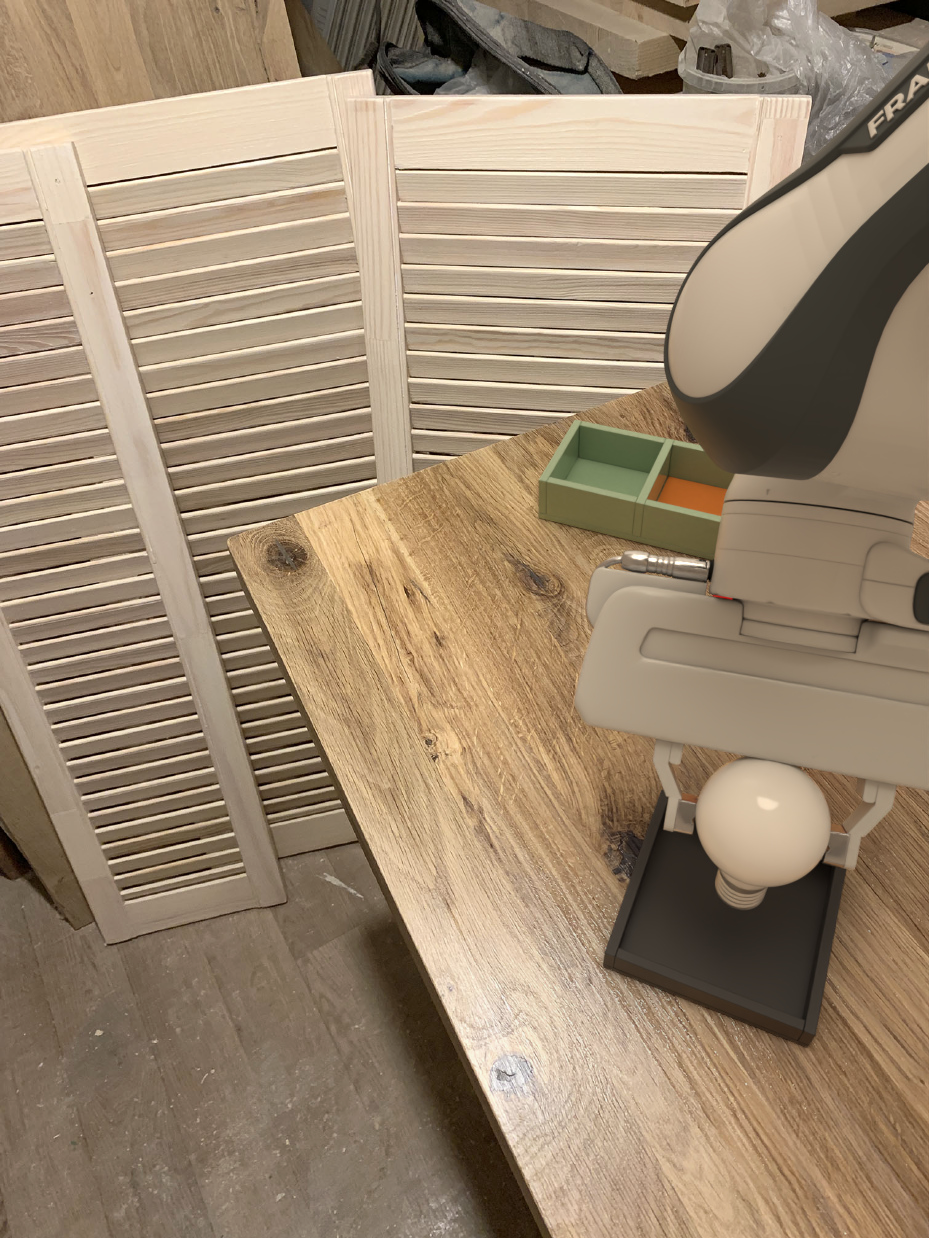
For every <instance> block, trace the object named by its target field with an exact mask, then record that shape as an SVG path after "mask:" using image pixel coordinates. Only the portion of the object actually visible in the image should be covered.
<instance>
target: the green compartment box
mask: <svg viewBox="0 0 929 1238" xmlns="http://www.w3.org/2000/svg"><path fill="white" fill-rule="evenodd" d="M734 475H735V474H734V473H729V472H726V471H724V470H722V469H721V468H719V467H718V466H717V465H715V463H714V462H713V461H712V460H711V459H710V458H709V456H708V455H707V454H706V453H705V451H704V450H703V449H702V447H701V446H700V445H699V444H696V443H691V442H687V441H682V440H676V439H673V438H668V437H662V436H657V435H652V434H647V433H642V432H637V431H634V430H633V431H632V430H628V429H625V428H624V429H623V428H618V427H613V426H610V425H603V424H599V423H594V422H590V421H584V420H581V419H574V420H573V422H572V423H571V425H570V427H569V428H568V430H567V431H566V433H565V435H564V436H563V438H562V440H561V442H560V443H559V445H558V447H557V448H556V450H555V452H554V453H553V455H552V457H551V458H550V460H549V462H548V464H547V465H546V467H545V468H544V470H543V472H542V474H541V475H540V477H539V479H538V519H542V520H546V521H550V522H554V523H557V524H562V525H566V526H571V527H575V528H579V529H583V530H587V531H589V532H590V531H591V532H595V533H600V534H602V535H608V536H611V537H615V538H618V539H624V540H626V541H627V540H628V541H631V542H636V543H639V544H643V545H648V546H652V547H656V548H661V549H664V550H669V551H672V552H677V553H681V554H685V555H689V556H693V557H697V558H700V559H704V560H709V561H712V560H713V559H714V556H715V550H716V543H717V537H718V532H719V526H720V520H721V514H722V508H723V504H724V498H725V494H726V492H727V489H728V487H729V485H730V483H731V481H732V479H733V477H734Z"/></svg>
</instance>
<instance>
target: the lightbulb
mask: <svg viewBox="0 0 929 1238" xmlns="http://www.w3.org/2000/svg"><path fill="white" fill-rule="evenodd" d="M695 820H696V829H697V833H698V837H699V840H700V842H701V844H702V847H703V848H704V850H705V852H706V854H707V855H708V857H709V858H710V859H711V860H712V862H713V863H714V864H715V865H716V866H717V867H718V868H719V869H718V872H717V876H716V879H715V888H716V892H717V894H718V896H719V897H720V898H721V900H722V901H723V902H724V903H726V904H727V905H728V906H730V907H732V908H735V909H739V910H749V909H753V908H755V907H757V906H758V905H759V904H760V903H761V902H762V900H763V899H764V896H765V894H766V891H767V888H768V887H777V886H782V885H786V884H789V883H792V882H795V881H797V880H799V879H800V878H802V877H804V876H805V875H807V874H808V873H809V872H810V871H811V870H812V869H813V868H814V867H815V866H816V865H817V864H818V863H819V861H820V860H821V858H822V857H823V855H824V853H825V851H826V849H827V846H828V843H829V839H830V834H831V823H832V817H831V810H830V807H829V804H828V800H827V798H826V796H825V794H824V793H823V791H822V789H821V787H820V786H819V784H818V783H817V782H816V781H815V779H813V777H811V775H810V774H808V773H807V772H806V771H805V770H804V769H802V767H800V766H795V765H790V764H784V763H779V762H774V761H769V760H764V759H758V758H753V757H748V756H740V757H736V758H734V759H732V760H730V761H728V762H725V763H724V764H723V765H721V766H719V768H717V769H716V770H715V771H714V772H713V773H712V774H711V775H710V776H709V777H708V779H707V780H706V781H705V783H704V784H703V786H702V788H701V790H700V793H699V795H698V801H697V806H696V816H695Z"/></svg>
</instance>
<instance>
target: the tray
mask: <svg viewBox="0 0 929 1238" xmlns="http://www.w3.org/2000/svg"><path fill="white" fill-rule="evenodd" d="M667 803H668V797H667V796H666V794H665V792H664V789H661V790H660V791H659V795H658V798H657V800H656V804H655V806H654V809H653V812H652V815H651V817H650V821H649V824H648V826H647V830H646V832H645V835H644V838H643V841H642V844H641V847H640V849H639V852H638V855H637V858H636V860H635V863H634V867H633V869H632V873H631V875H630V877H629V881H628V885H627V887H626V890H625V893H624V896H623V898H622V902H621V904H620V907H619V909H618V913H617V915H616V918H615V921H614V924H613V928H612V930H611V932H610V936H609V938H608V942H607V943H606V944H607V945H606V947H605V950H604V956H603V963H602V967H603V968H605V969H608V970H610V971H613V972H616V973H618V974H621V975H623V976H625V977H628V978H631V979H633V980H635V981H638V982H640V983H643V984H646V985H649V986H651V987H652V988H656V989H659V990H661V991H662V992H663V991H664V992H666V993H668V994H670V995H673V996H676V997H679V998H681V999H683V1000H686V1001H689V1002H691V1003H694V1004H696V1005H699V1006H701V1007H704V1008H706V1009H708V1010H711V1011H713V1012H716V1013H719V1014H721V1015H724V1016H726V1017H728V1018H731V1019H734V1020H737V1021H739V1022H741V1023H744V1024H746V1025H750V1026H751V1027H754V1028H757V1029H759V1030H762V1031H764V1032H766V1033H769V1034H771V1035H774V1036H776V1037H778V1038H781V1039H784V1040H787V1041H788V1042H791V1043H794V1044H797V1045H799V1046H802V1047H804V1048H809V1046H810V1045H811V1043H812V1042H813V1040H814V1039H815V1038H816V1036H817V1030H818V1024H819V1020H820V1014H821V1009H822V1004H823V997H824V994H825V993H824V992H825V989H826V988H825V987H826V982H827V976H828V972H829V971H828V970H829V966H830V961H831V960H830V959H831V955H832V949H833V944H834V938H835V932H836V928H837V922H838V916H839V911H840V905H841V900H842V895H843V890H844V886H845V885H844V884H845V880H846V879H845V878H846V873H847V869H844V868H839V867H835V866H830V865H826V864H822V860H820V861H819V863H818V864H817V865H816V866H815V867H814V868H813V869H812V870H811V871H810V872H809V873H808V874H807V875H805V876H804V877H802V878H800V879H799V880H797V881H795V882H792V883H789V884H786V885H782V886H777V887H768V888H767V891H766V894H765V896H764V899H763V900H762V902H761V903H760V904H759V905H758V906H757V907H755V908H753V909H749V910H739V909H735V908H732V907H730V906H728V905H727V904H726V903H724V902H723V901H722V900H721V898H720V897H719V896H718V894H717V892H716V888H715V879H716V876H717V872H718V869H719V868H718V867H717V866H716V865H715V864H714V863H713V862H712V860H711V859H710V858H709V857H708V855H707V854H706V852H705V850H704V848H703V847H702V844H701V842H700V840H699V837H698V833H697V829H696V820H695V817H694V829H693V834H692V835H687V834H682V833H677V832H671V831H667V830H663V829H664V822H665V815H666V809H667Z"/></svg>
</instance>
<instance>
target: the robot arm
mask: <svg viewBox="0 0 929 1238" xmlns="http://www.w3.org/2000/svg"><path fill="white" fill-rule="evenodd" d="M663 368H664V375H665V378H666V381H667V386H668V388H669V390H670V394H671V396H672V399H673V402H674V404H675V406H676V408H677V410H678V413H679V415H680V417H681V418H682V420H683V422H684V424H685V425H686V427H687V428H688V431H689V432H690V433H691V435H692V437H693V438H694V439H695V441H696V442H697V443H698V445H700V446H701V447H702V449H703V450H704V451H705V453H706V454H707V455H708V456H709V458H710V459H711V460H712V461H713V462H714V463H715V465H717V466H718V467H719V468H721V469H722V470H724V471H726V472H729V473H734V474H735V475H734V477H733V479H732V481H731V483H730V485H729V487H728V489H727V492H726V494H725V498H724V504H723V508H722V514H721V520H720V526H719V532H718V537H717V543H716V550H715V556H714V559H713V560H709V559H704V558H693V557H687V556H679V555H677V556H675V555H671V556H670V555H662V554H661V555H660V554H659V555H658V554H654V553H650V552H648V551H644V550H638V549H626V550H624V551H623V553H622V555H615V556H612V557H609V558H607V559H604V560H603V561H601V562H600V563H599V564H598V565H597V566H596V567H595V568H594V570H593V572H592V573H591V575H590V577H589V579H588V586H587V591H586V592H587V593H586V597H585V605H584V611H585V617H586V619H587V623H588V624H589V626H590V627H591V629H592V632H591V635H590V637H589V640H588V643H587V646H586V650H585V652H584V656H583V659H582V663H581V667H580V671H579V675H578V679H577V682H576V683H577V684H576V689H575V694H574V698H573V707H574V709H575V711H576V712H577V714H578V716H579V718H580V720H581V721H582V722H583V723H584V725H586V726H588V727H593V728H597V729H603V730H608V731H612V732H619V733H623V734H630V735H634V736H639V737H645V738H650V739H655V743H654V748H653V756H652V763H653V766H654V769H655V771H656V774H657V776H658V778H659V781H660V784H661V786H662V790H664V792H665V794H666V796H667V797H668V803H667V809H666V815H665V822H664V829H663V830H667V831H671V832H677V833H682V834H687V835H692V834H693V829H694V817H695V816H696V806H697V801H698V797H699V795H695V794H690V793H687V792H683V789H682V787H681V784H680V780H679V779H678V776H677V773H676V771H675V768H674V765H675V766H679V765H680V764H681V762H682V757H683V753H684V747H685V745H686V746H691V747H697V748H700V749H701V748H702V749H706V750H712V751H718V752H722V753H728V754H733V755H738V756H742V757H744V756H748V757H753V758H758V759H764V760H769V761H774V762H779V763H784V764H790V765H795V766H798V767H800V768H806V769H811V770H816V771H820V772H821V771H822V772H827V773H831V774H837V775H843V776H849V777H853V778H857V779H856V785H855V791H856V793H857V794H858V795H859V797H860V798H861V799H862V800H861V802H860V803H859V804H858V805H857V807H855V809H854V810H853V811H852V812H851V813H850V814H849V815H848V817H847V818H846V819H845V820H844V821H843V822H842V823H841V824H839V823H833V822H831V834H830V839H829V843H828V846H827V849H826V851H825V853H824V855H823V857H822V858H821V860H822V864H826V865H830V866H835V867H839V868H844V869H846V870H849V871H854V870H855V869H856V866H857V863H858V857H859V853H860V847H861V841H862V838H865V837H866V836H867V835H868V834H869V833H870V832H871V831H872V830H873V829H874V828H875V827H876V826H877V825H878V824H879V823H880V822H881V821H882V820H883V819H884V818H885V817H886V815H888V814H889V813H890V812H891V811H892V810H893V808H894V805H895V804H894V803H895V798H896V792H897V787H898V786H900V787H906V788H908V789H909V788H910V789H914V790H915V789H916V790H920V791H925V792H929V558H927V557H926V556H924V555H921V554H919V553H917V552H914V551H913V550H912V548H911V544H912V539H913V535H914V534H913V533H914V528H915V513H916V509H917V506H918V504H919V503H920V502H929V40H928V41H927V42H925V44H924V45H923V46H922V47H921V48H920V49H919V50H918V52H916V53H915V55H913V56H912V57H911V59H909V60H908V61H907V63H906V64H905V65H904V66H903V67H902V68H901V69H900V70H898V72H897V73H896V74H895V75H894V76H893V77H892V78H891V79H890V80H889V81H888V82H887V83H886V84H885V85H884V86H883V87H882V88H881V89H880V90H879V91H878V92H877V93H876V94H875V95H874V96H873V97H872V99H871V100H869V101H868V103H866V104H865V105H864V106H863V107H862V109H861V110H859V111H858V113H856V115H855V116H854V117H853V118H852V119H851V120H850V121H849V122H848V123H846V125H845V126H844V127H843V128H842V129H841V130H840V131H839V132H838V133H837V134H836V135H835V136H834V137H832V138H831V139H830V140H829V141H828V142H827V143H826V144H825V145H824V146H823V147H822V148H820V149H819V150H818V151H817V152H816V153H815V154H814V155H812V156H811V157H810V158H809V159H808V160H806V162H804V163H803V164H801V166H799V167H798V168H797V169H795V170H794V171H793V172H791V173H790V174H789V175H787V176H786V177H784V179H782V180H781V181H780V182H778V183H777V184H775V185H773V187H771V188H770V189H769V190H767V191H766V192H765V193H763V194H762V195H761V196H759V197H757V199H756V200H754V201H753V202H751V203H750V204H749V205H748V206H746V207H745V208H744V209H743V210H742V211H740V212H739V213H738V214H736V216H735V217H734V218H732V219H731V220H730V221H729V222H728V223H727V224H725V225H724V227H723V228H722V229H720V230H719V232H717V234H715V236H714V237H713V238H712V239H710V241H709V242H708V243H707V244H706V245H705V247H704V248H703V249H702V250H701V252H700V253H699V255H698V256H697V257H696V258H695V260H694V262H693V263H692V265H691V266H690V268H689V270H688V271H687V273H686V275H685V278H684V279H683V281H682V283H681V285H680V287H679V289H678V291H677V293H676V296H675V299H674V301H673V305H672V307H671V310H670V314H669V316H668V319H667V324H666V328H665V334H664V343H663ZM619 564H621V565H620V567H621V569H622V570H621V569H615V568H610V567H611V566H614V565H619ZM655 574H656V575H655ZM708 582H709V586H708ZM707 589H708V593H709V595H707ZM713 595H717V596H723V597H729V598H732V599H733V600H732V599H727V598H721V597H714V596H713Z"/></svg>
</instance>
